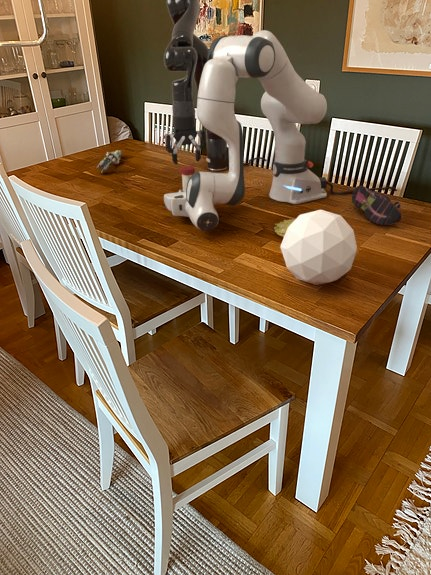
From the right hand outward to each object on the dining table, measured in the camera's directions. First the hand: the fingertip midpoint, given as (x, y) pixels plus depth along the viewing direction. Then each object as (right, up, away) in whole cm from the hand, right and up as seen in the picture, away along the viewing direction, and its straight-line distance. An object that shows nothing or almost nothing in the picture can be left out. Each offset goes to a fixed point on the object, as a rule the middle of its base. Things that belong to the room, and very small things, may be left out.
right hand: (188, 190), depth 164 cm
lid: (0, +7, -5) cm, 9 cm away
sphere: (+38, -33, -42) cm, 66 cm away
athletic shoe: (+68, -11, -8) cm, 69 cm away
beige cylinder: (0, -6, +3) cm, 7 cm away
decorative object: (+39, -18, -18) cm, 46 cm away
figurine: (-40, +23, +51) cm, 69 cm away
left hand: (0, +9, -7) cm, 11 cm away
